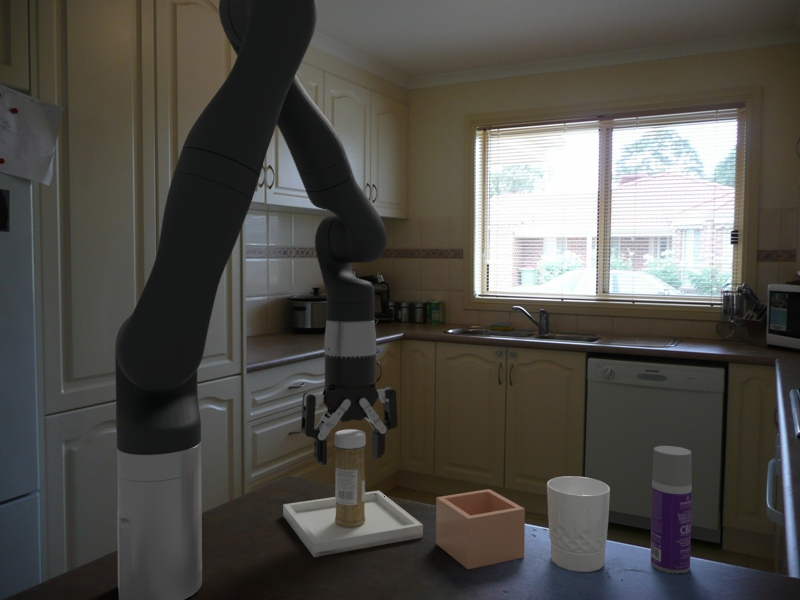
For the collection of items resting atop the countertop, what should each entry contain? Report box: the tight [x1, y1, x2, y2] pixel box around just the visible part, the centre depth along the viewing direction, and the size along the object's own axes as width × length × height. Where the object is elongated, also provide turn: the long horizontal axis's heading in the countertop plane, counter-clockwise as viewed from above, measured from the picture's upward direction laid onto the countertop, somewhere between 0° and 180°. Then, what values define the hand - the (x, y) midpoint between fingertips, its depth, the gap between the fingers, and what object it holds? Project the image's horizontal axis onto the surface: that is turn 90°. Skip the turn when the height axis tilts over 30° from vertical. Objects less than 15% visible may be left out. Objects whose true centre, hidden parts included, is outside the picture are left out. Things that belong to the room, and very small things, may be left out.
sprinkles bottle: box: [334, 428, 367, 527], centre depth 96 cm, size 5×5×13 cm
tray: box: [282, 490, 424, 558], centre depth 96 cm, size 16×16×2 cm
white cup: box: [546, 475, 611, 573], centre depth 84 cm, size 8×8×10 cm
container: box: [650, 445, 693, 575], centre depth 83 cm, size 5×5×15 cm
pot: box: [435, 488, 526, 570], centre depth 87 cm, size 9×9×6 cm
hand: (350, 460), depth 95 cm, fingers open, 8 cm apart
